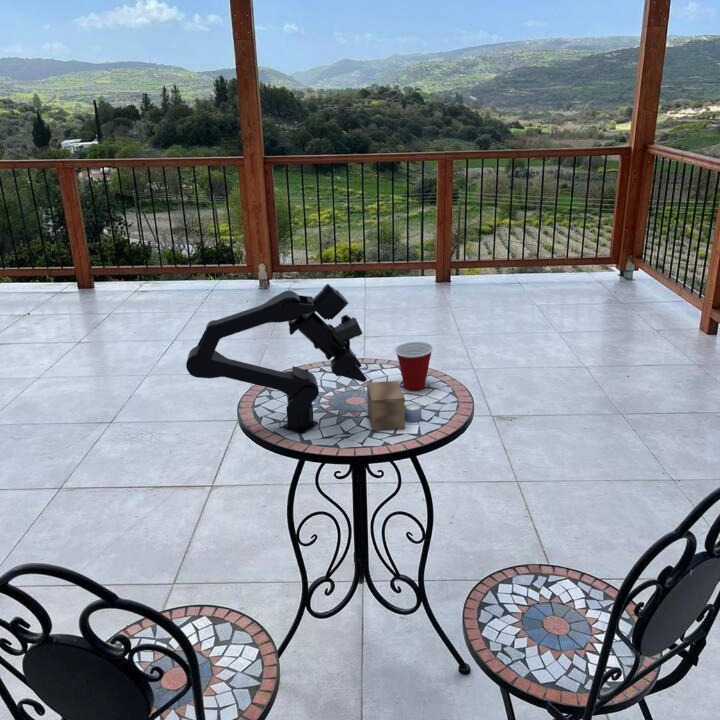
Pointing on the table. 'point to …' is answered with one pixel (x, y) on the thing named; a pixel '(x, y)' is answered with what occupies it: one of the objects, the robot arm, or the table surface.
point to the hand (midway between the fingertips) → (362, 373)
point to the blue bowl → (413, 412)
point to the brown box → (385, 405)
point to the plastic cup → (414, 363)
